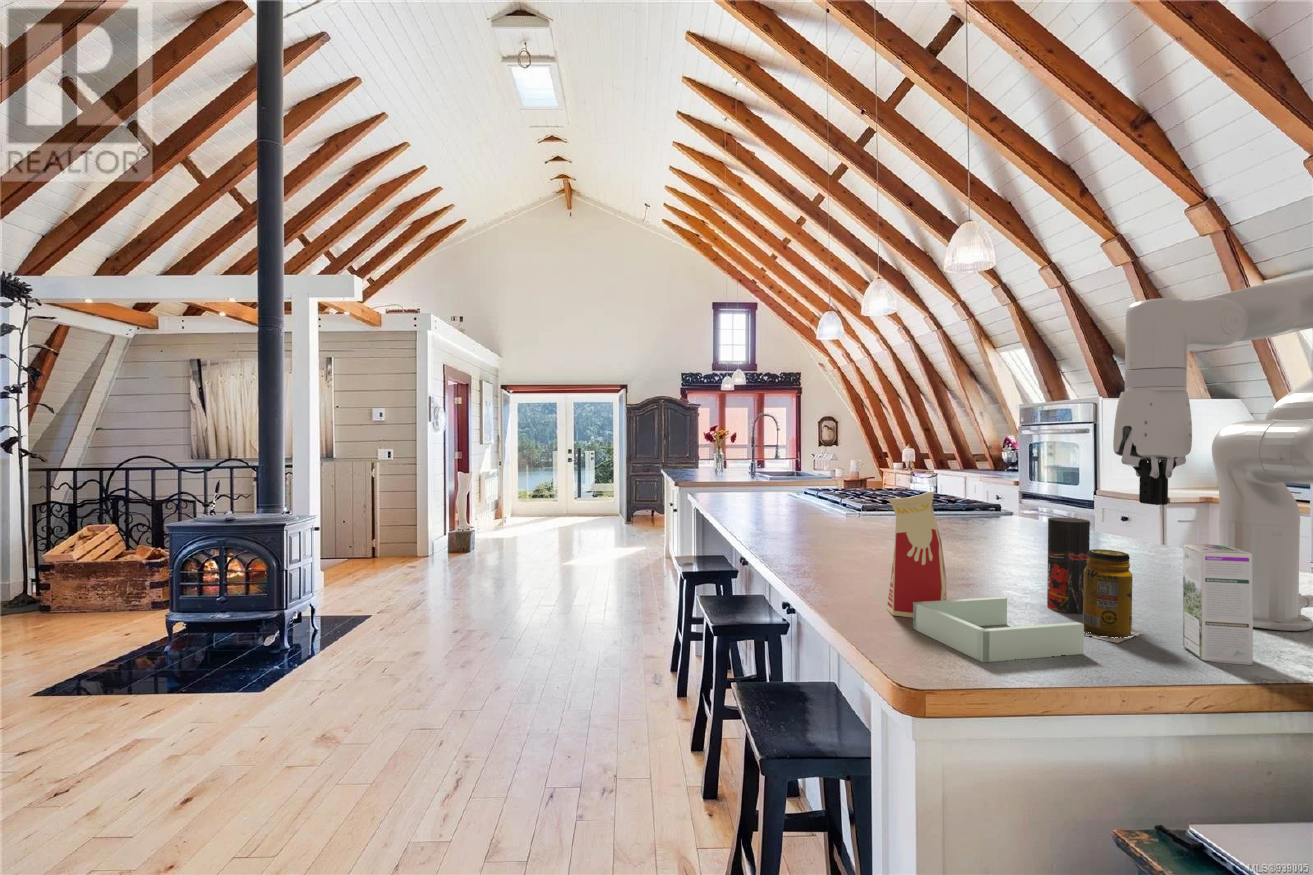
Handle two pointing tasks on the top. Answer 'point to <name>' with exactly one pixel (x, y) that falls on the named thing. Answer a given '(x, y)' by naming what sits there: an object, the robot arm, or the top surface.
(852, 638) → the top surface
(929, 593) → the milk carton
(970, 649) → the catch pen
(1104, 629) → the condiment
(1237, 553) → the syrup box
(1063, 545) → the deodorant
